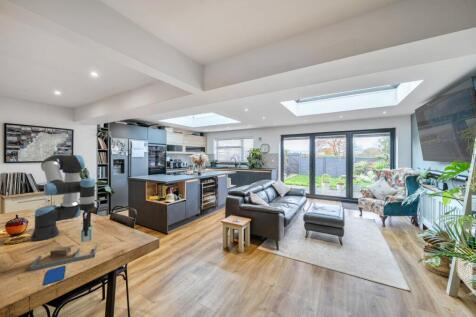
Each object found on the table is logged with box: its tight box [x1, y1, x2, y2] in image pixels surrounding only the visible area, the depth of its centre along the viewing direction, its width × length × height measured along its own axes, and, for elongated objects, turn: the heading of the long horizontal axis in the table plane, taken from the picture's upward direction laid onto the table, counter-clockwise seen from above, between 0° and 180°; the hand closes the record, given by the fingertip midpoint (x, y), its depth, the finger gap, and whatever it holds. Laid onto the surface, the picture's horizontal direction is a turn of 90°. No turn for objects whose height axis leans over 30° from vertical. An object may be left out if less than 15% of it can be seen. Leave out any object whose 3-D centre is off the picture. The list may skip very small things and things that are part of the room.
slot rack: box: [28, 244, 98, 272], centre depth 113 cm, size 14×28×2 cm, turn 122°
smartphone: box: [42, 265, 67, 286], centre depth 96 cm, size 7×1×15 cm
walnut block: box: [49, 245, 72, 258], centre depth 117 cm, size 4×8×5 cm
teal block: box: [80, 226, 93, 243], centre depth 119 cm, size 5×5×7 cm
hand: (86, 239), depth 119 cm, fingers closed on teal block, 5 cm apart
